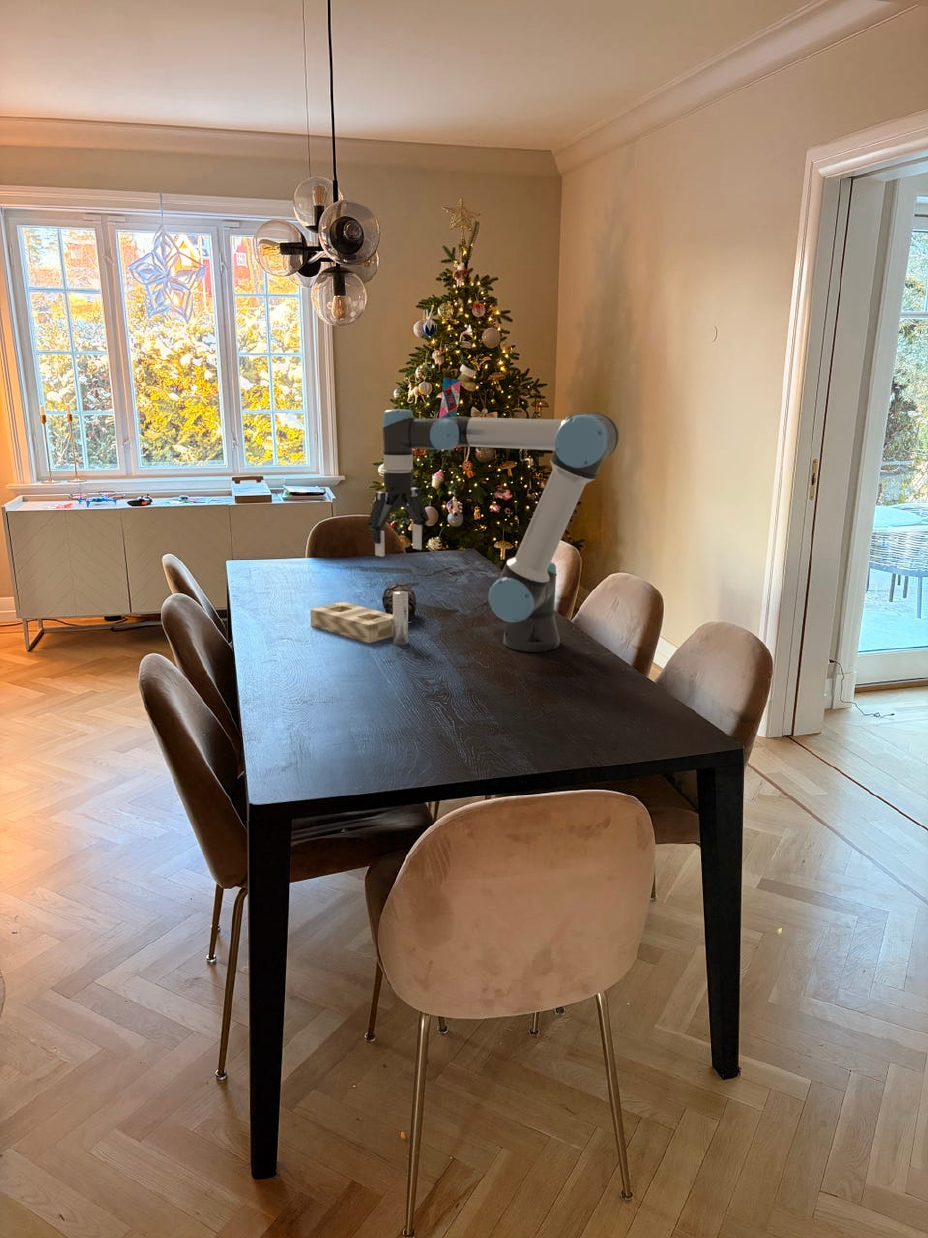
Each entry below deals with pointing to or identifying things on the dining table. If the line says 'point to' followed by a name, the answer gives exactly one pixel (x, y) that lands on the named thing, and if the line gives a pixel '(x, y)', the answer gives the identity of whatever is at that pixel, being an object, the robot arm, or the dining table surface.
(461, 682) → the dining table surface
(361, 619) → the hole block
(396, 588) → the pine cone
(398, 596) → the steel pin
